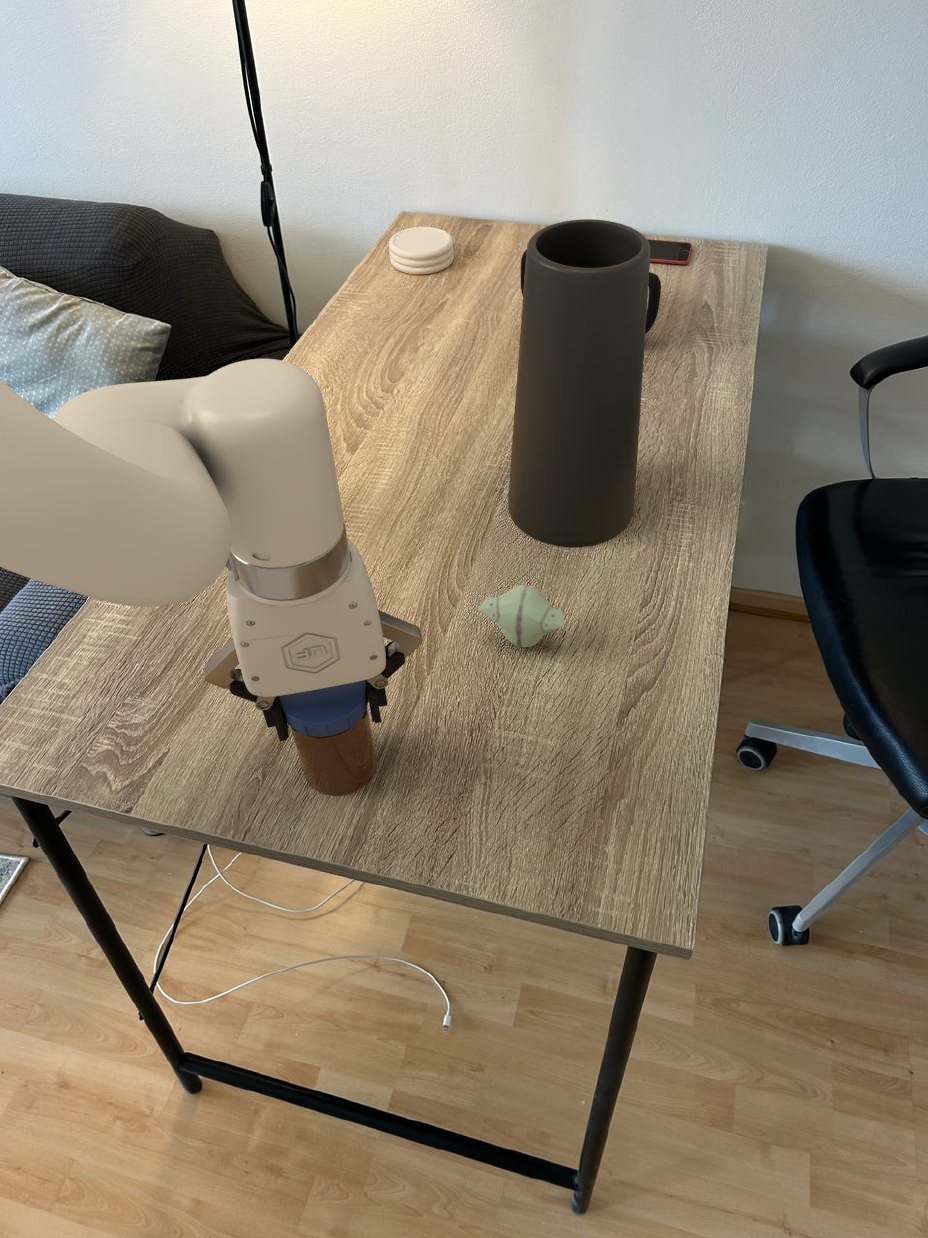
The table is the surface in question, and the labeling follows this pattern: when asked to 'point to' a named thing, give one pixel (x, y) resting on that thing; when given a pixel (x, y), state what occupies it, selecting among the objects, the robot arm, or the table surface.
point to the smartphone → (669, 251)
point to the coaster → (421, 250)
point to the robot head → (523, 615)
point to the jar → (338, 758)
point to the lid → (325, 709)
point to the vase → (579, 382)
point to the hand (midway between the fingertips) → (329, 716)
